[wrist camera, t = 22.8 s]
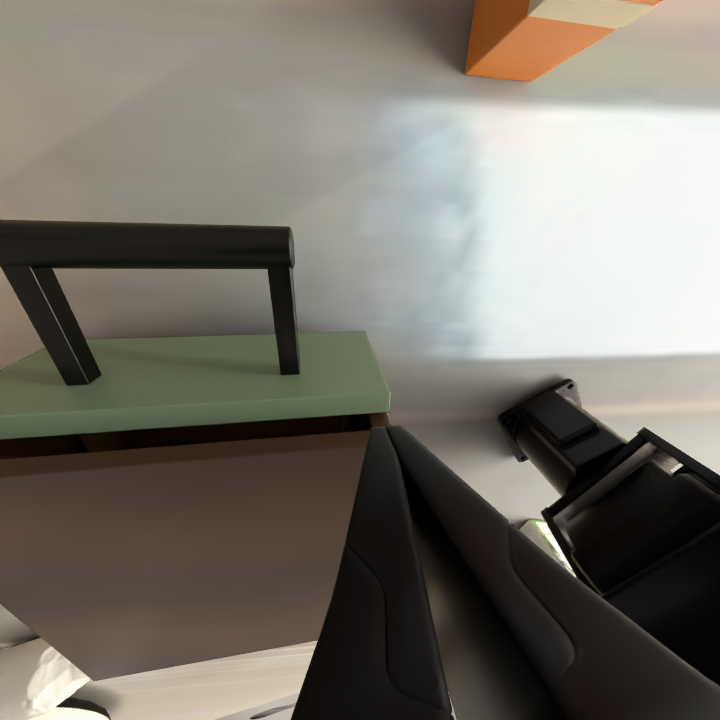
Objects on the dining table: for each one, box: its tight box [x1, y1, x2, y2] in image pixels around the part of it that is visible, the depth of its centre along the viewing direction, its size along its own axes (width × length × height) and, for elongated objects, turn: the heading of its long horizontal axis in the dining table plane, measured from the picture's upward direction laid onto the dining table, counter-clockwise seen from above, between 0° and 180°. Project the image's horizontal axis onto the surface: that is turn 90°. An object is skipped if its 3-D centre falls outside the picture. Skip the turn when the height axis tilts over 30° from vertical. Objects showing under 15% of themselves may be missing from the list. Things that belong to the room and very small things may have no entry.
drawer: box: [0, 220, 391, 452], centre depth 15 cm, size 22×16×6 cm
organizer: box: [0, 412, 391, 681], centre depth 17 cm, size 16×16×9 cm
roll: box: [0, 638, 91, 720], centre depth 26 cm, size 6×12×6 cm, turn 107°
